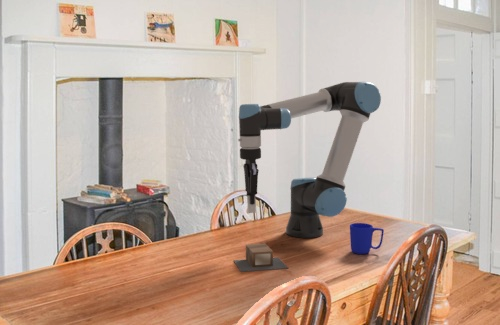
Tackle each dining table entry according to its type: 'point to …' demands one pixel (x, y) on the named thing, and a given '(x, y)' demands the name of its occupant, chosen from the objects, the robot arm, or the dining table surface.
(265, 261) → the walnut block
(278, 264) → the mat
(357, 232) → the mug
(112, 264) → the dining table surface
